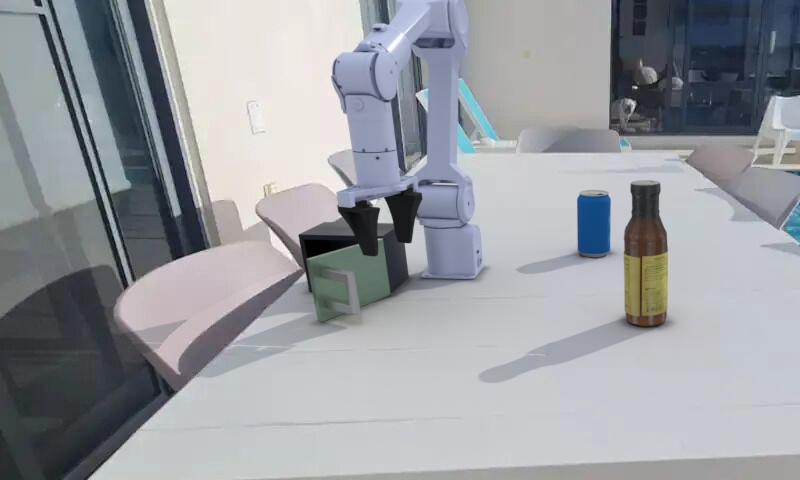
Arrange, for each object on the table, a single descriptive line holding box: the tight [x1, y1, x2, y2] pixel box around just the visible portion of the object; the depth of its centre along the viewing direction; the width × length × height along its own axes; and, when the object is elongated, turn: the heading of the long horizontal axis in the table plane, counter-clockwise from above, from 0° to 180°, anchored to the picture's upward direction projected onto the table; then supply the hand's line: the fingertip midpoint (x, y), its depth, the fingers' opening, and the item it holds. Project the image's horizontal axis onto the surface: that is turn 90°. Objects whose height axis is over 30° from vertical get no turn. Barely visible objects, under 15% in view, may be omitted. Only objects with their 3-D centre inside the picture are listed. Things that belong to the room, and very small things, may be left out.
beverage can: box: [576, 189, 612, 258], centre depth 124 cm, size 6×6×12 cm
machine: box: [298, 221, 410, 295], centre depth 106 cm, size 9×14×10 cm, turn 86°
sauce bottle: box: [623, 179, 669, 327], centre depth 89 cm, size 6×6×20 cm
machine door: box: [306, 238, 392, 323], centre depth 94 cm, size 6×14×9 cm, turn 152°
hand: (388, 248), depth 92 cm, fingers open, 7 cm apart
